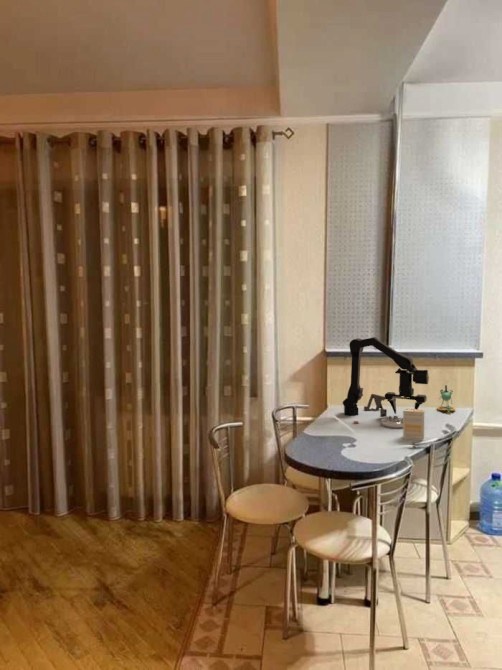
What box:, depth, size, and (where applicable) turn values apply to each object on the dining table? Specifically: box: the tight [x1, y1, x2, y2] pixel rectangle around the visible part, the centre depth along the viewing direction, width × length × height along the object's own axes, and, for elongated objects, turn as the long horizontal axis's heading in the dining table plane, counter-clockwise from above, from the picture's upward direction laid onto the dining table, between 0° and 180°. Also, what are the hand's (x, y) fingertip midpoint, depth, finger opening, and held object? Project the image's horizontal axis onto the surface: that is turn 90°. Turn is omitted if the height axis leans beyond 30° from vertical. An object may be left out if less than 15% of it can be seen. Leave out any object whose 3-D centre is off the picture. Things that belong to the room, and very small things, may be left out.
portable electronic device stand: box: [363, 393, 386, 412], centre depth 269 cm, size 9×8×8 cm
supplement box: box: [402, 408, 425, 441], centre depth 214 cm, size 8×5×13 cm, turn 65°
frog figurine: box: [436, 384, 456, 415], centre depth 269 cm, size 10×18×15 cm, turn 154°
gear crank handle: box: [379, 408, 403, 430], centre depth 240 cm, size 20×12×4 cm, turn 8°
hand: (405, 414), depth 245 cm, fingers open, 9 cm apart
